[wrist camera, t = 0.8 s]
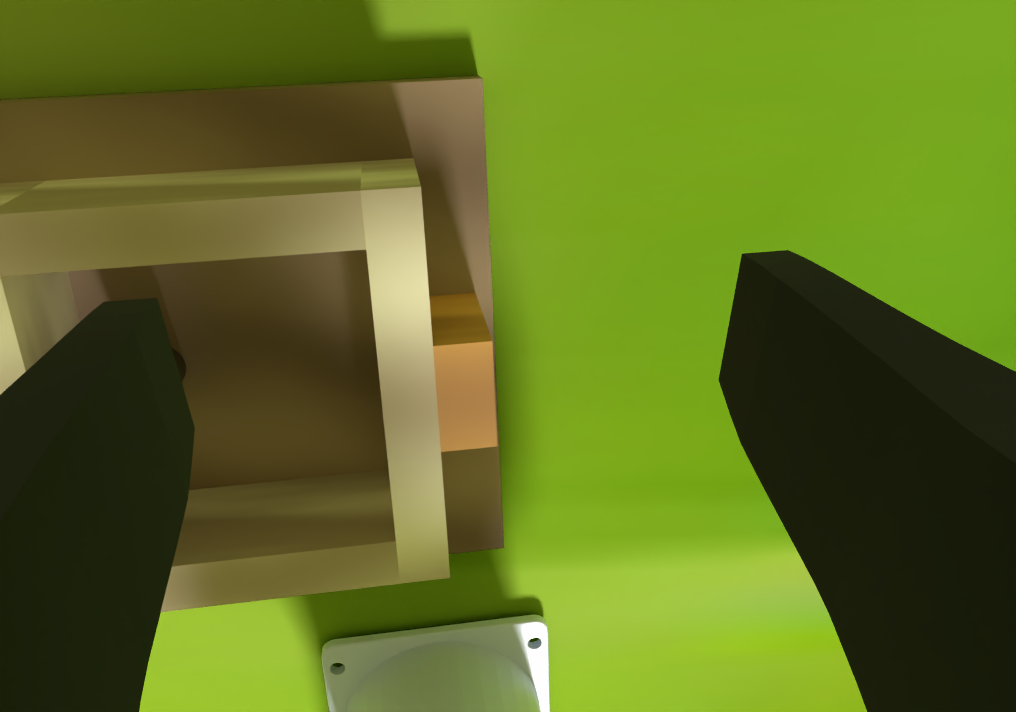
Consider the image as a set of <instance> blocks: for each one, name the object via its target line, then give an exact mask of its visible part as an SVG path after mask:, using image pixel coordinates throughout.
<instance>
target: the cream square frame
mask: <svg viewBox="0 0 1016 712" xmlns="http://www.w3.org/2000/svg"><path fill="white" fill-rule="evenodd" d="M353 250H366V252H367V262H368V271H369V281H370V291H371V301H372V311H373V321H374V331H375V340H376V350H377V360H378V370H379V380H380V390H381V399H382V409H383V419H384V429H385V439H386V449H387V459H388V468H389V470H381V471H371V472H361V473H351V474H342V475H332V476H322V477H313V478H303V479H293V480H283V481H274V482H264V483H254V484H244V485H235V486H225V487H215V488H205V489H196V490H189V495H188V501H187V506H186V510H185V514H184V519H183V523H182V527H181V531H180V535H179V540H178V544H177V548H176V552H175V556H174V560H173V564H172V568H171V572H170V576H169V580H168V584H167V588H166V592H165V596H164V600H163V604H162V609H161V612H166V611H174V610H182V609H191V608H199V607H208V606H216V605H225V604H233V603H242V602H250V601H259V600H267V599H276V598H284V597H292V596H301V595H309V594H318V593H326V592H335V591H343V590H352V589H360V588H369V587H377V586H386V585H394V584H402V583H411V582H419V581H428V580H436V579H445V578H450V567H449V554H448V540H447V527H446V514H445V500H444V487H443V474H442V460H441V452H447V451H457V450H467V449H477V448H487V447H496V446H497V428H496V406H495V385H494V363H493V342H492V338H491V336H490V333H489V330H488V327H487V324H486V321H485V319H484V316H483V313H482V310H481V307H480V304H479V302H478V299H477V296H476V293H463V294H450V295H438V296H429V286H428V273H427V260H426V246H425V233H424V220H423V206H422V193H421V185H420V181H419V177H418V173H417V169H416V166H415V162H414V158H409V159H393V160H376V161H360V162H344V163H327V164H311V165H295V166H278V167H262V168H246V169H229V170H213V171H197V172H180V173H164V174H148V175H131V176H115V177H99V178H82V179H66V180H50V181H33V182H17V183H1V184H0V394H2V393H3V392H4V391H5V390H6V389H7V388H8V387H9V386H10V385H11V384H13V383H14V382H15V381H16V380H17V379H18V378H19V377H20V376H21V375H23V374H24V373H25V372H26V371H27V370H28V369H29V368H30V367H31V366H32V365H34V364H35V363H36V362H37V361H38V360H39V359H40V358H41V357H42V356H43V355H45V354H46V353H47V352H48V351H49V350H50V349H51V348H52V347H53V346H54V345H55V344H56V343H57V342H59V341H60V340H61V339H62V338H63V337H64V336H65V335H66V334H67V333H68V332H69V331H70V330H72V329H73V328H74V327H75V326H76V325H77V324H78V323H79V318H78V313H77V309H76V305H75V301H74V297H73V292H72V288H71V284H70V280H69V276H68V272H67V271H79V270H93V269H106V268H120V267H134V266H148V265H161V264H175V263H189V262H202V261H216V260H230V259H243V258H257V257H271V256H285V255H298V254H312V253H326V252H339V251H353Z"/></svg>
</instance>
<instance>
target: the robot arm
mask: <svg viewBox="0 0 1016 712" xmlns="http://www.w3.org/2000/svg"><path fill="white" fill-rule="evenodd" d="M719 382H720V385H721V388H722V391H723V394H724V397H725V400H726V403H727V406H728V409H729V412H730V415H731V418H732V421H733V423H734V426H735V429H736V431H737V434H738V437H739V439H740V442H741V445H742V446H743V448H744V450H745V452H746V454H747V456H748V458H749V460H750V462H751V464H752V466H753V468H754V470H755V472H756V474H757V476H758V478H759V480H760V481H761V483H762V485H763V487H764V489H765V491H766V493H767V495H768V497H769V499H770V501H771V502H772V504H773V506H774V508H775V510H776V512H777V514H778V515H779V517H780V519H781V521H782V523H783V525H784V527H785V529H786V530H787V532H788V534H789V536H790V538H791V540H792V542H793V544H794V545H795V547H796V549H797V551H798V553H799V555H800V557H801V559H802V560H803V562H804V564H805V566H806V568H807V570H808V572H809V574H810V575H811V577H812V579H813V581H814V583H815V585H816V587H817V589H818V591H819V594H820V596H821V598H822V600H823V602H824V604H825V606H826V608H827V610H828V612H829V615H830V617H831V620H832V622H833V625H834V627H835V630H836V632H837V635H838V637H839V640H840V642H841V645H842V647H843V650H844V652H845V655H846V657H847V660H848V662H849V665H850V667H851V670H852V672H853V675H854V677H855V680H856V682H857V685H858V687H859V690H860V693H861V696H862V698H863V701H864V704H865V706H866V709H867V712H1016V372H1015V371H1013V370H1011V369H1009V368H1007V367H1005V366H1003V365H1001V364H999V363H997V362H995V361H993V360H991V359H989V358H987V357H985V356H983V355H981V354H979V353H977V352H975V351H973V350H971V349H969V348H967V347H965V346H963V345H961V344H959V343H957V342H955V341H953V340H951V339H949V338H948V337H946V336H944V335H942V334H940V333H938V332H936V331H934V330H933V329H931V328H929V327H927V326H925V325H924V324H922V323H920V322H918V321H916V320H914V319H913V318H911V317H909V316H907V315H906V314H904V313H902V312H900V311H898V310H897V309H895V308H893V307H891V306H890V305H888V304H886V303H884V302H883V301H881V300H879V299H877V298H876V297H874V296H872V295H870V294H869V293H867V292H865V291H864V290H862V289H860V288H858V287H857V286H855V285H853V284H851V283H850V282H848V281H846V280H844V279H843V278H841V277H839V276H837V275H836V274H834V273H832V272H830V271H828V270H827V269H825V268H823V267H821V266H819V265H817V264H815V263H814V262H812V261H810V260H808V259H806V258H804V257H802V256H800V255H797V254H795V253H793V252H791V251H788V250H786V251H772V252H759V253H746V254H742V257H741V262H740V268H739V273H738V278H737V284H736V289H735V295H734V300H733V305H732V311H731V316H730V322H729V327H728V332H727V338H726V343H725V349H724V354H723V359H722V365H721V370H720V375H719ZM194 432H195V427H194V423H193V420H192V416H191V413H190V409H189V406H188V402H187V399H186V396H185V392H184V389H183V385H182V382H181V378H180V375H179V371H178V368H177V364H176V361H175V358H174V354H173V351H172V347H171V344H170V340H169V337H168V333H167V330H166V326H165V323H164V320H163V316H162V313H161V309H160V306H159V302H158V299H157V298H147V299H133V300H120V301H107V302H103V303H102V304H100V305H99V306H98V307H97V308H95V309H94V310H93V311H92V312H91V313H89V314H88V315H87V316H86V317H85V318H84V319H83V320H81V321H80V322H79V323H78V324H77V325H76V326H75V327H74V328H73V329H72V330H70V331H69V332H68V333H67V334H66V335H65V336H64V337H63V338H62V339H61V340H60V341H59V342H57V343H56V344H55V345H54V346H53V347H52V348H51V349H50V350H49V351H48V352H47V353H46V354H45V355H43V356H42V357H41V358H40V359H39V360H38V361H37V362H36V363H35V364H34V365H32V366H31V367H30V368H29V369H28V370H27V371H26V372H25V373H24V374H23V375H21V376H20V377H19V378H18V379H17V380H16V381H15V382H14V383H13V384H11V385H10V386H9V387H8V388H7V389H6V390H5V391H4V392H3V393H2V394H0V712H139V708H140V701H141V696H142V691H143V686H144V681H145V676H146V671H147V666H148V661H149V657H150V653H151V649H152V645H153V641H154V637H155V633H156V629H157V625H158V621H159V617H160V613H161V609H162V604H163V600H164V596H165V592H166V588H167V584H168V580H169V576H170V572H171V568H172V564H173V560H174V556H175V552H176V548H177V544H178V540H179V535H180V531H181V527H182V523H183V519H184V514H185V510H186V506H187V501H188V495H189V486H190V476H191V467H192V456H193V444H194ZM532 638H539V639H538V640H537V641H535V642H529V640H530V639H532ZM321 660H322V666H323V673H324V680H325V686H326V693H327V700H328V706H329V712H550V694H549V652H548V628H547V624H546V621H545V619H544V618H543V617H542V616H539V615H526V616H518V617H509V618H501V619H493V620H485V621H477V622H469V623H461V624H453V625H445V626H437V627H429V628H421V629H413V630H405V631H397V632H389V633H381V634H373V635H365V636H357V637H349V638H341V639H334V640H330V641H328V642H327V643H325V644H324V646H323V648H322V656H321ZM334 663H341V664H343V666H340V667H334V666H333V665H332V664H334Z"/></svg>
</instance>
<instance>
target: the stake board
mask: <svg viewBox="0 0 1016 712" xmlns="http://www.w3.org/2000/svg"><path fill="white" fill-rule="evenodd" d="M409 158H414V162H415V166H416V169H417V173H418V177H419V181H420V185H421V193H422V206H423V220H424V233H425V246H426V260H427V273H428V286H429V296H438V295H450V294H463V293H476V296H477V299H478V302H479V304H480V307H481V310H482V313H483V316H484V319H485V321H486V324H487V327H488V330H489V333H490V336H491V338H492V342H493V363H494V385H495V406H496V428H497V446H496V447H487V448H477V449H467V450H457V451H447V452H441V460H442V474H443V487H444V500H445V514H446V527H447V540H448V554H454V553H463V552H472V551H480V550H489V549H498V548H504V538H503V517H502V495H501V473H500V451H499V429H498V408H497V386H496V364H495V342H494V320H493V298H492V277H491V255H490V233H489V211H488V189H487V168H486V146H485V124H484V102H483V80H482V78H481V77H480V76H458V77H438V78H418V79H399V80H379V81H359V82H339V83H319V84H300V85H280V86H260V87H240V88H220V89H201V90H181V91H161V92H141V93H121V94H102V95H82V96H62V97H42V98H22V99H3V100H0V184H1V183H17V182H33V181H50V180H66V179H82V178H99V177H115V176H131V175H148V174H164V173H180V172H197V171H213V170H229V169H246V168H262V167H278V166H295V165H311V164H327V163H344V162H360V161H376V160H393V159H409ZM67 272H68V276H69V280H70V284H71V288H72V292H73V297H74V301H75V305H76V309H77V313H78V318H79V322H80V321H81V320H83V319H84V318H85V317H86V316H87V315H88V314H89V313H91V312H92V311H93V310H94V309H95V308H97V307H98V306H99V305H100V304H102V303H103V302H107V301H120V300H133V299H147V298H157V299H158V302H159V306H160V309H161V313H162V316H163V320H164V323H165V326H166V330H167V333H168V337H169V340H170V344H171V347H172V351H173V354H174V358H175V361H176V364H177V368H178V371H179V375H180V378H181V382H182V385H183V389H184V392H185V396H186V399H187V402H188V406H189V409H190V413H191V416H192V420H193V423H194V427H195V432H194V444H193V456H192V467H191V476H190V486H189V490H196V489H205V488H215V487H225V486H235V485H244V484H254V483H264V482H274V481H283V480H293V479H303V478H313V477H322V476H332V475H342V474H351V473H361V472H371V471H381V470H389V468H388V459H387V449H386V439H385V429H384V419H383V409H382V399H381V390H380V380H379V370H378V360H377V350H376V340H375V331H374V321H373V311H372V301H371V291H370V281H369V271H368V262H367V252H366V250H353V251H339V252H326V253H312V254H298V255H285V256H271V257H257V258H243V259H230V260H216V261H202V262H189V263H175V264H161V265H148V266H134V267H120V268H106V269H93V270H79V271H67Z"/></svg>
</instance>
